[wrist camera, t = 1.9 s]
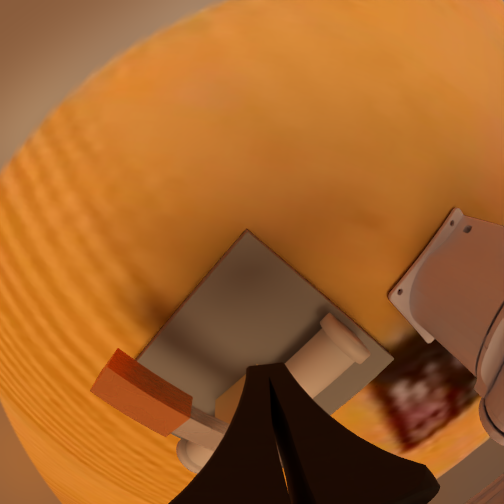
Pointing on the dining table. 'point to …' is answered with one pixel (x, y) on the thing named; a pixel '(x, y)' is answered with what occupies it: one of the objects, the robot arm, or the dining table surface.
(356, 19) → the dining table surface
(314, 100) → the dining table surface
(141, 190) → the dining table surface
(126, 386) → the valve lever
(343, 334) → the pipe board
